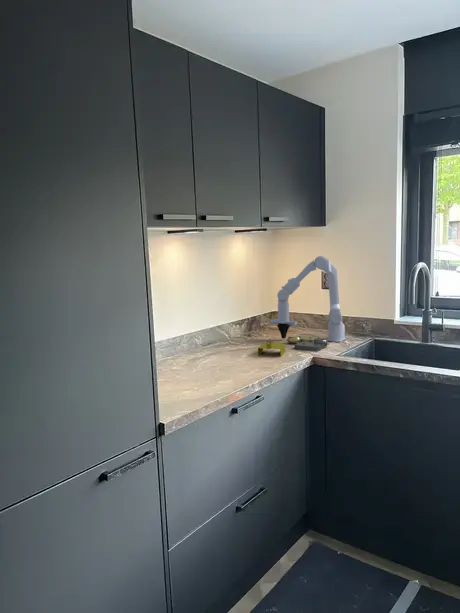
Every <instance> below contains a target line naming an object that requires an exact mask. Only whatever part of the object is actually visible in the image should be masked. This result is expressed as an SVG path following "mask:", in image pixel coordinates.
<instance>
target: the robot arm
mask: <svg viewBox="0 0 460 613" xmlns="http://www.w3.org/2000/svg"><path fill="white" fill-rule="evenodd" d="M317 269H318V270H321V271H323V272H325V274H327V277H328V278H327V280H328V292H329V293H328V294H329V295H328V296H329V312H328V318H329V321H328V323H327V325H328V326H327V327H328V328H327V329H328V333H327V334H328V335H327V336H328V338H326V339H325V340H327V342H336V343H341V342H344V340H347V337H345V336H346V326H345V324H344V323H343V315H342V312H341V308H340V296H339V283H338V282H339V281H338V269H337V268H336V267H335V266H334V264H333V263H332V262H331V261H330V260H329V259H328V258H327V257H325V256H323V255H318V256H317V257H316V258H315V259H313V260H312V261H310V262H309V263H308V264H307V265H306V266H305V267H304V268H303V270H301V272H299V273H298V274H297V276H296V277H291V278H289V279H288V280H287V282H286V283H285V284H284V286H281V289H279V291H278V292H277V295H276V296H277V302H278V303H277V319H270V325H271V324H273V325H274V324H275V325H276V326H277V328H278V330H279V333H280V336H281V339H287V334H288V330H289V328H290V326H297V325H298V321H297V320H290V304H289V298H290V295H292V294H294V292H296V290H297V289H299V287H300V286H301V282H302V280H304V279H305V278H306V277H307V276H308V275H309V274H310V273H311V272H313V271H316V270H317Z"/></svg>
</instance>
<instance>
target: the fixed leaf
mask: <svg viewBox="0 0 460 613" xmlns="http://www.w3.org/2000/svg"><path fill="white" fill-rule="evenodd" d="M329 345H330V343H329V341H327V340H326V339H320V338H319V339H315V340H314V343H310V342H300V343H297V344H294V350H300V349H301V350H302V351H311V352H320V351H321V350H324V349H325V348H327V347H328V346H329ZM301 350H300V351H301Z"/></svg>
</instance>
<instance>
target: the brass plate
mask: <svg viewBox="0 0 460 613" xmlns="http://www.w3.org/2000/svg"><path fill="white" fill-rule="evenodd" d="M315 339H319V340H320V337H319V336H309V335H301V334H299V335H293V336H288V337H287V338H286V341H287V343H288V344H294V345H295V344H297V343H300V342H310V343H314V340H315Z"/></svg>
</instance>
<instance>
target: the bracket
mask: <svg viewBox="0 0 460 613" xmlns="http://www.w3.org/2000/svg"><path fill="white" fill-rule="evenodd" d="M264 349H265V350H266V349H267V350H273V349H274V350H280V357H282V356H283V355H284V353H285V352H286V344H285V343H278V341H270V340H267V341H266V342H264V343H262V344H260V346H258V347H257V356H260V355H261V354H262V353H263V352H264Z"/></svg>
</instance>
